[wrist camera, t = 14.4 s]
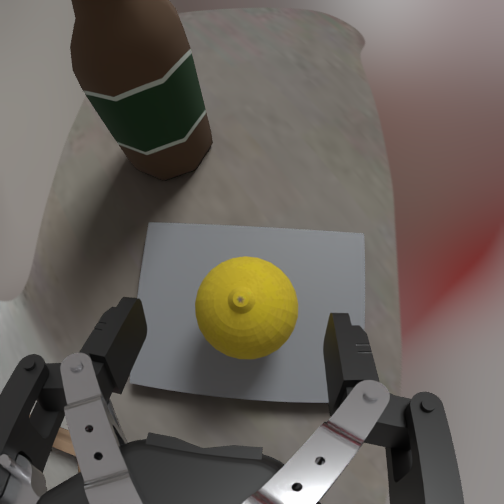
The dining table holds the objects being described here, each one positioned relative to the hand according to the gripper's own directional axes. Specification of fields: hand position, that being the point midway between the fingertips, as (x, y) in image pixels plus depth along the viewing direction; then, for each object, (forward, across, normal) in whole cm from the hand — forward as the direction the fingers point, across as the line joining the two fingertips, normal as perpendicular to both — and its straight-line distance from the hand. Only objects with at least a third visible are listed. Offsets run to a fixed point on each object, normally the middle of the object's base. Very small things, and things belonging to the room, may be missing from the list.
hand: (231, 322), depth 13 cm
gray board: (+8, 0, +6) cm, 10 cm away
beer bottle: (+18, +8, -4) cm, 20 cm away
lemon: (+6, 0, +5) cm, 8 cm away
